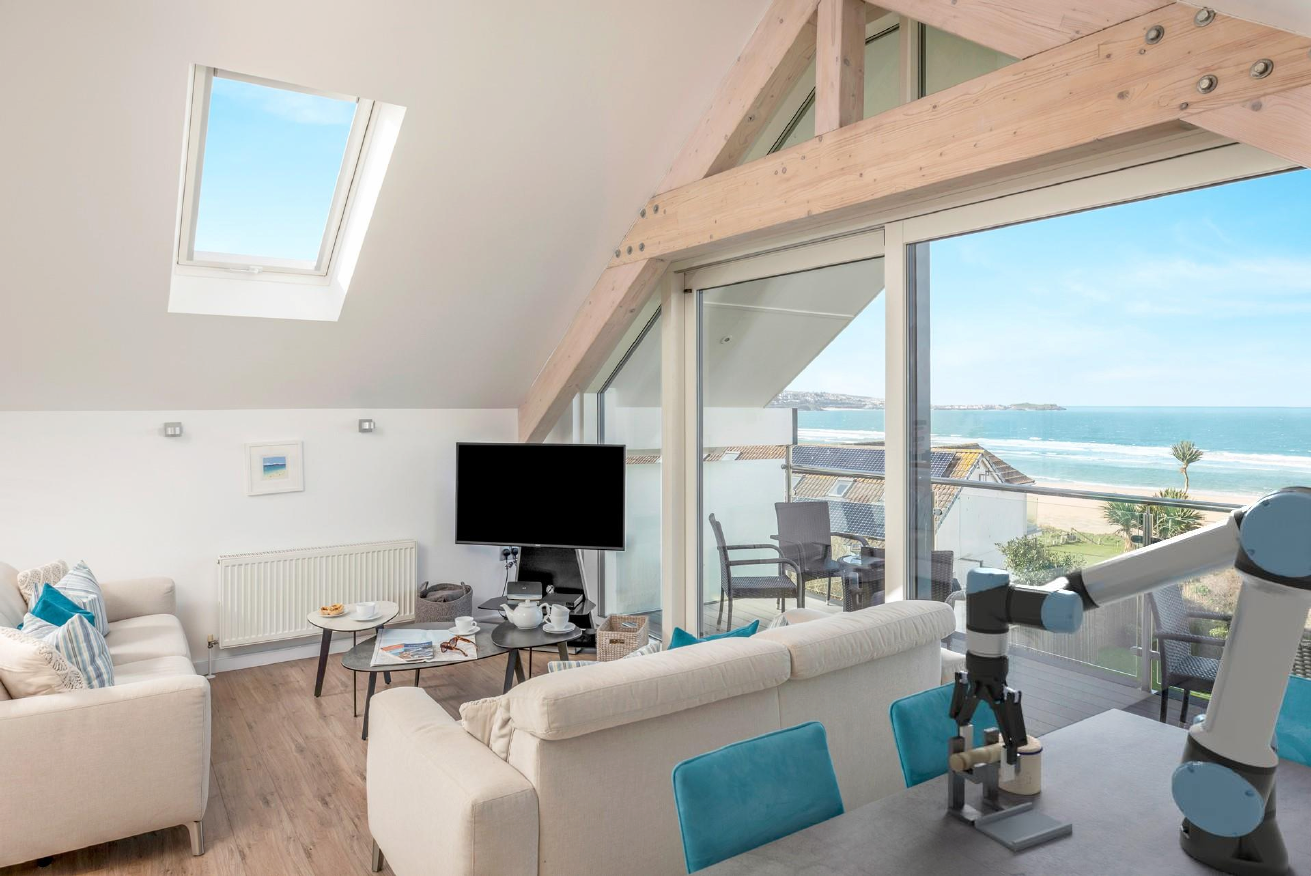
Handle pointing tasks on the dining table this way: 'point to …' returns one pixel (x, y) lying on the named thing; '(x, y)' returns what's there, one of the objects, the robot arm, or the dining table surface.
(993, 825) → the tray
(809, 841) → the dining table surface
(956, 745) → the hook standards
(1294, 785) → the dining table surface
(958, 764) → the wooden cylinder
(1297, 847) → the dining table surface
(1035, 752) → the teacup with lid
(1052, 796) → the dining table surface
